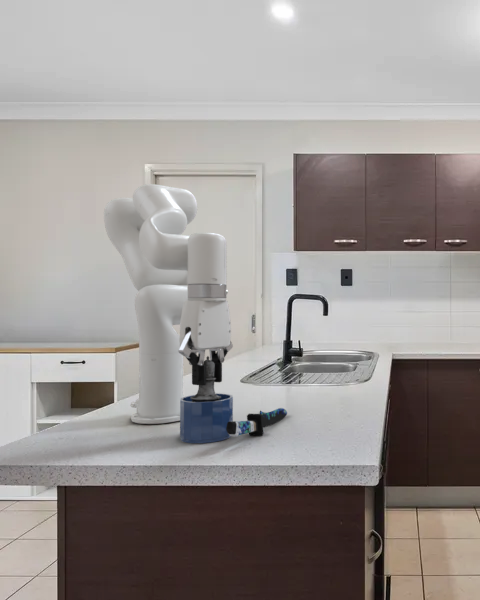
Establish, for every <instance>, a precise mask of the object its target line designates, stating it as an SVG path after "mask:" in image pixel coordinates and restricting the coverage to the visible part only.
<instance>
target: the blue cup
mask: <svg viewBox="0 0 480 600" xmlns="http://www.w3.org/2000/svg"><path fill="white" fill-rule="evenodd" d="M215 394H216V395H218V396H221V398H220V399H219V401H211V402H192V399H191V397H192V396H195V395H196V394H191V395H186V396H183V398H181V399H180V421H179V440H180V441H181V442H183V443H186V444H210V443H216V442H221V441H226V440H227V439H228V440H229V439H230V438H231V437H232V436H230V435H229V434H228V433H227V430H226V427H227V423H228V422H230V421H234V397H233V394H229V393H220V392H219V393H216V392H215Z"/></svg>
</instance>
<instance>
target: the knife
mask: <svg viewBox="0 0 480 600" xmlns="http://www.w3.org/2000/svg"><path fill="white" fill-rule="evenodd" d="M287 415H288V411H287V410H286V409H285V408H282V407H279V408H276V409H274V410H271V411H268V412H265V411H262V410H260V411H259V413H248V414H247V415H246V420H233V421H230V422H228V423H227V427H226V430H227V433H228V434H229V435H230V436H231V437H239V436H242V435H246V434H248V436H255V437H262V436H263V435H264V434H265V432H264V431H265V430H264V428H267V427H269V426H272V425H274V424H277V423H279V422H280V421H282V420H283V419H284V418H286V416H287Z"/></svg>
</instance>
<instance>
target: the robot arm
mask: <svg viewBox="0 0 480 600" xmlns="http://www.w3.org/2000/svg"><path fill="white" fill-rule="evenodd" d="M197 213H198V201H197V199H196V197H195V195H194V194H193V193H192V192H191V191H189V190H188V189H185V188H181V187H173V186H168V185H162V184H154V183H147V184H143V185H140V186H138V187H137V188H136V189H135V190H134V192H133V194H132V197H117V198H114V199H111V200H110V201H108V202H107V203H106V205H105V208H104V210H103V222H104V228H105V232H106V235H107V237H108V239H109V241H110V243H111V245H113V247H114V248H115V249H116V250H117V252H118V254H119V255H120V257H121V258H122V261H123V263H124V266H125V268H126V271H127V273H128V276H129V278H130V280H131V283H132V285H133V287H134V288H135V289H136V290H137V293H136V294H135V296H134V297H135V298H134V310H135V315H136V321H137V328H138V329H137V330H138V353H139V354H138V397H137V398H136V400H135V401H132V402H130V407H131V408H135V409H136V412H135V413H134V414H132V415H131V422H132V423H135V424H142V425H159V424H169V423H174V422H180V399H181V398H183V397H184V357H185V359H186V360H187V361H188V364H189V365H190V366H191V384H192V385H193V386H199V385H202V386H203V385H206V365H203V364H204V361H205V358H206V351H207V350H208V352H209V360H210V361H212V362H214V364H215V371H214V377H215V378H216V379H215V380H214V383H222V382H223V363H224V362H225V358H226V356H227V355H228V353H229V352H230V351H231V350H232V349H233V348H234V344H233V342H232V341H231V339H232V338H231V337H232V324H231V312H230V305H229V302H228V300H227V297H228V293H229V292H228V291H229V290H228V288H227V282H228V281H227V279H228V278H227V277H228V276H227V275H228V273H227V272H228V271H227V270H228V269H227V267H228V266H227V263H228V261H227V260H228V259H227V257H228V256H227V253H228V252H227V251H228V250H227V249H228V245H227V239H226V238H225V236H224V235H222V234H219V233H214V232H195V233H194V232H193V233H192V234H190V235H186V234H183V233H184V232H185V231H186V228H187V226H188V225H189V224H190V223H192V222H193V221H194V219H195V218H196V216H197ZM177 325H179V333H178V332H177V330H176V329H175V328H174V326H177Z"/></svg>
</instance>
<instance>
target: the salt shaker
mask: <svg viewBox="0 0 480 600" xmlns="http://www.w3.org/2000/svg"><path fill="white" fill-rule="evenodd" d="M203 365H206V385H203V386H202V385H198V389H197V392H196V394H194V395H195V396H192V397H191V399H192V402H211V401H219V399H220V398H221V396H218V395H216V394H215V393H216V390H215V382H214V380H215V379H216V378H215V377H214V371H215V364H214V362H212V361H211V360H210V356H209V355H207V356H206V359H204V364H203Z"/></svg>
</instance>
